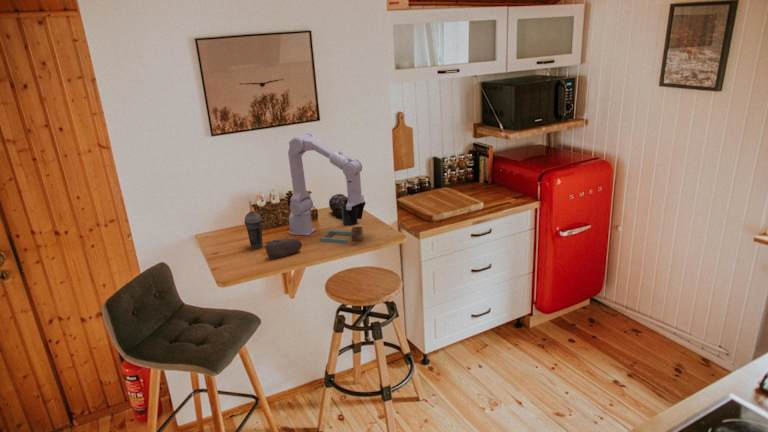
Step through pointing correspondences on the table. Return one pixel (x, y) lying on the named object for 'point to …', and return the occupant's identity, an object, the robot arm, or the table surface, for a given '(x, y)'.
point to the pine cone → (337, 205)
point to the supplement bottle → (345, 213)
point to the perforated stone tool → (282, 247)
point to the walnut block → (357, 234)
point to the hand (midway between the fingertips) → (356, 221)
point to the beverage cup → (254, 228)
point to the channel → (331, 233)
